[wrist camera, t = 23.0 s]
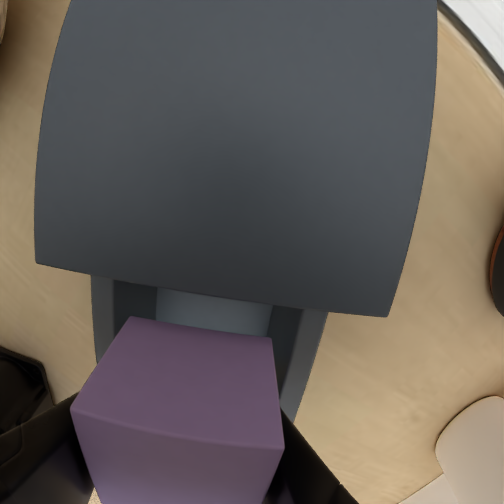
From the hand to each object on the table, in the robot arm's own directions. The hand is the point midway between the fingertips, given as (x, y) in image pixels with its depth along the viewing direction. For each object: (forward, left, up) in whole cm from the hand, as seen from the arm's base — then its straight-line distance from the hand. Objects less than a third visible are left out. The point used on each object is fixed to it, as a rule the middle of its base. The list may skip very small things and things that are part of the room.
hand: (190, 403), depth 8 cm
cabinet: (0, +10, -9) cm, 13 cm away
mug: (+25, -10, -9) cm, 28 cm away
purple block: (0, 0, -1) cm, 1 cm away
